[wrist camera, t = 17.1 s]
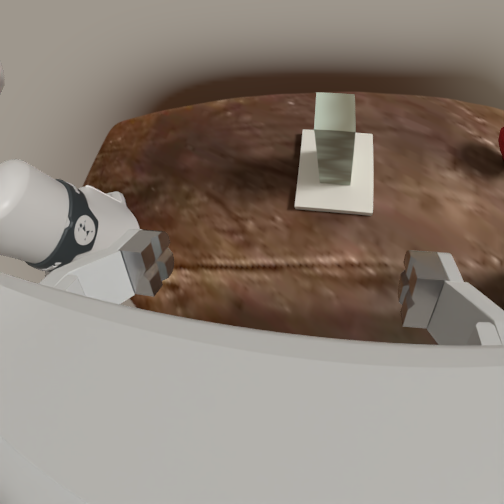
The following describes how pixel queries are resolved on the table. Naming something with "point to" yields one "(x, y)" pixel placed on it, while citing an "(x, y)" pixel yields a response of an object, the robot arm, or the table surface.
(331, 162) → the handle block
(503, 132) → the strawberry
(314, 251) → the table surface
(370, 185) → the ceramic tile
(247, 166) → the table surface
